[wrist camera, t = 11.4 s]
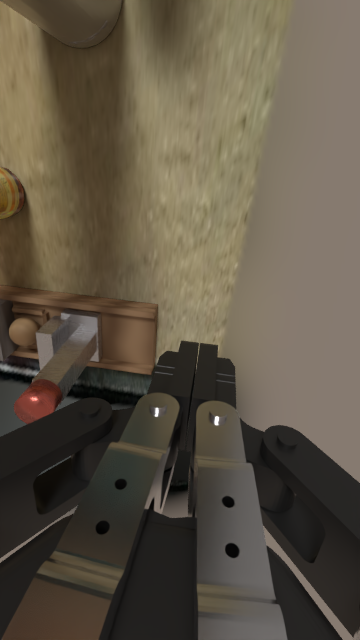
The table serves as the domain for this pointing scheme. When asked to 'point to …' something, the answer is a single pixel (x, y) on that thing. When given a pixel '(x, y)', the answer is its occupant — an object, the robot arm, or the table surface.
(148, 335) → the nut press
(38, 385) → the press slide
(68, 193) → the table surface
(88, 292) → the table surface
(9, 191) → the sauce bottle
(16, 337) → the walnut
